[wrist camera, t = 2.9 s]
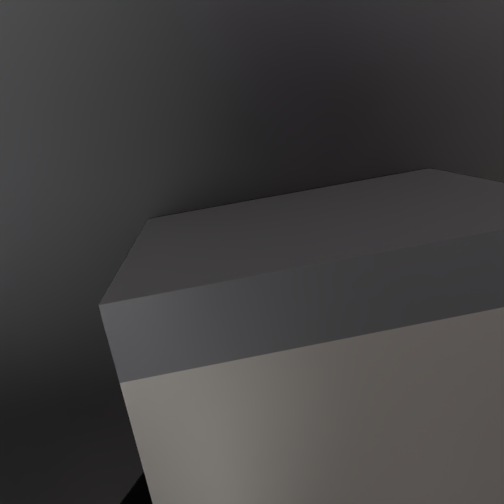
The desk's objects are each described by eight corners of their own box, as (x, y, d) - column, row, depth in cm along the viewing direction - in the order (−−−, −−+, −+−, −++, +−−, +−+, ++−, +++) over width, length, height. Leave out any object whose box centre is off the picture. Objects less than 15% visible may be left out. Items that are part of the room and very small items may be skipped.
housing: (450, 526, 11) (593, 757, 7) (229, 575, 10) (245, 845, 6) (429, 168, 8) (622, 205, 4) (148, 219, 8) (99, 305, 4)
